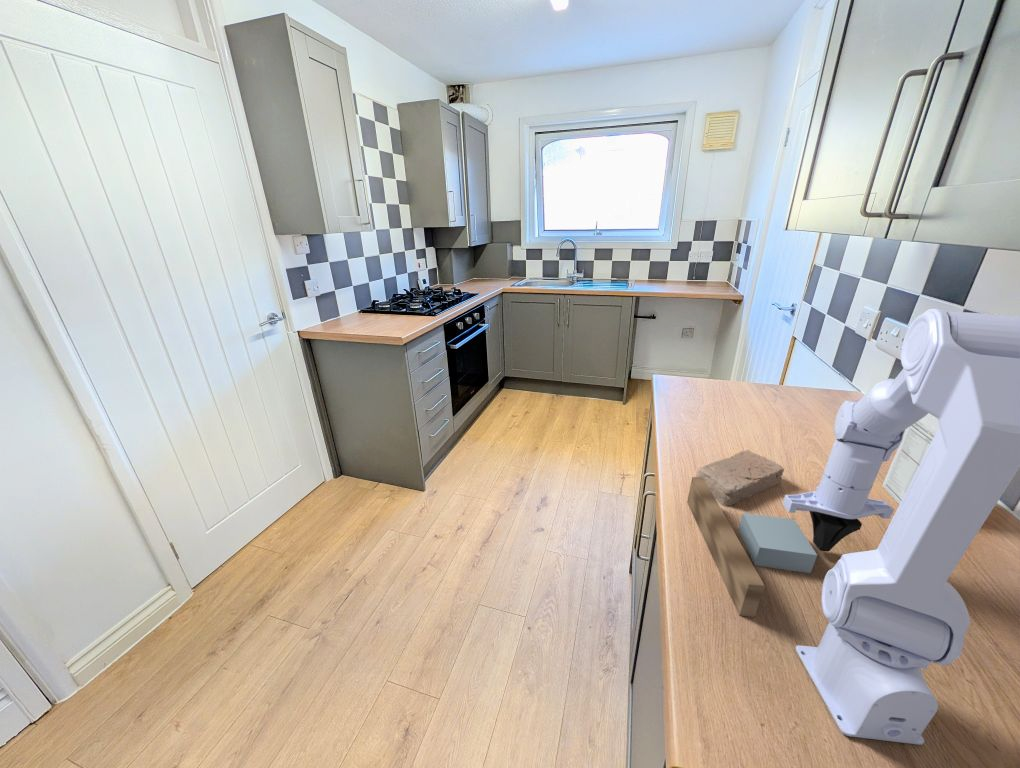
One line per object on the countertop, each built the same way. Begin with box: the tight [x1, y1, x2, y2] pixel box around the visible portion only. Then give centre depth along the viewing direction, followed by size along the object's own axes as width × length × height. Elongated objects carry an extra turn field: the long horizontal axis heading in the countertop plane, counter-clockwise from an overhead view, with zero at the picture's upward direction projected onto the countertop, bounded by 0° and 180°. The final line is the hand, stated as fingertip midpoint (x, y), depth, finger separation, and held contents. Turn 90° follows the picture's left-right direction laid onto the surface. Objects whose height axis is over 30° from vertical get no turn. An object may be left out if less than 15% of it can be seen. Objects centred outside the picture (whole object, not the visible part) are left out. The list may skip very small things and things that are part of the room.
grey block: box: [738, 512, 818, 574], centre depth 65 cm, size 8×8×4 cm
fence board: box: [686, 476, 765, 618], centre depth 64 cm, size 24×2×6 cm, turn 174°
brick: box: [695, 449, 785, 507], centre depth 81 cm, size 17×8×5 cm, turn 115°
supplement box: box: [881, 414, 940, 506], centre depth 72 cm, size 10×9×17 cm
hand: (820, 546), depth 64 cm, fingers closed
